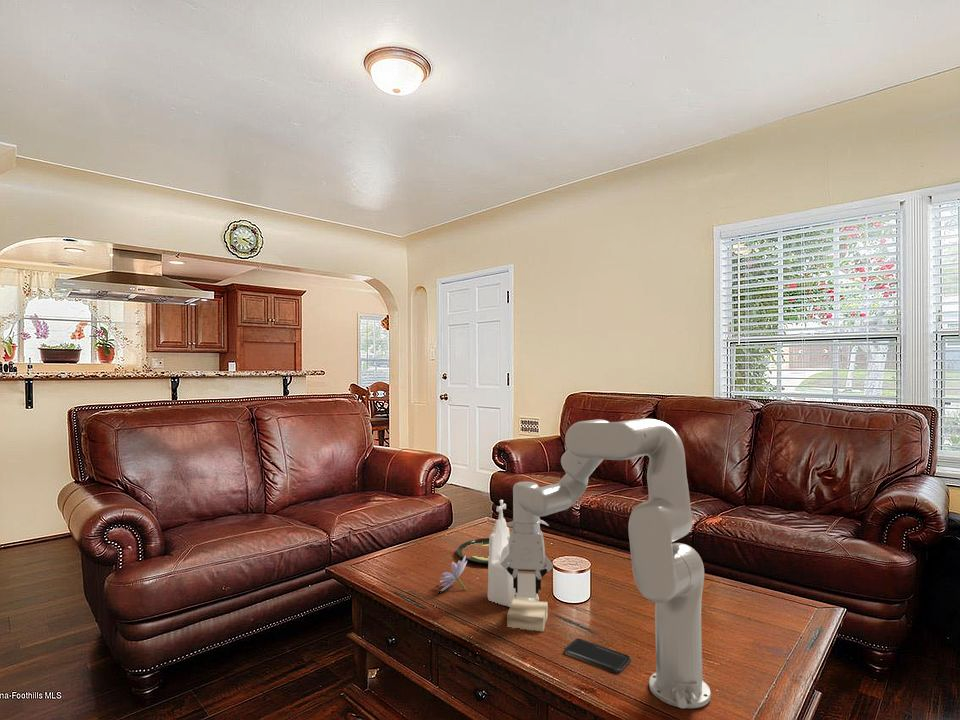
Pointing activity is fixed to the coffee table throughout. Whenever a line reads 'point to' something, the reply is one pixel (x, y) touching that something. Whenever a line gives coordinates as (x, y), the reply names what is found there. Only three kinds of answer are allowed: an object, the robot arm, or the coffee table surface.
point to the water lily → (456, 571)
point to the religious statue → (497, 574)
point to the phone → (597, 655)
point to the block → (527, 614)
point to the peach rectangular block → (526, 583)
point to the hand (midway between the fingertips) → (527, 590)
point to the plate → (474, 558)
